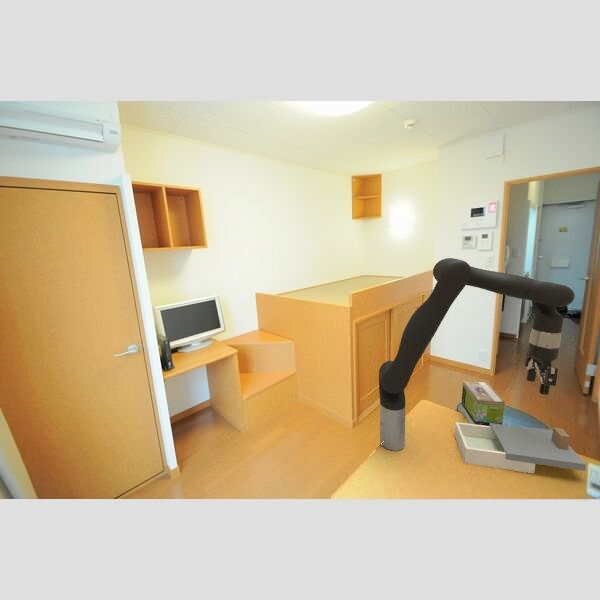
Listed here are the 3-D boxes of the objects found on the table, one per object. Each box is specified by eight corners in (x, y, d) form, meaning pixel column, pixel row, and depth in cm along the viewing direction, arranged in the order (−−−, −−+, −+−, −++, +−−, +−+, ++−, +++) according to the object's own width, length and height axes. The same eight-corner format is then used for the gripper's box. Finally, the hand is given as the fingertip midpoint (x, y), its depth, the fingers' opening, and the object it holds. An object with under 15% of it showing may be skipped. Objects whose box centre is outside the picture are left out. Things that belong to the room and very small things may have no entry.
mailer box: (464, 463, 93) (466, 448, 92) (454, 435, 106) (455, 422, 105) (534, 473, 87) (536, 458, 86) (514, 443, 100) (515, 429, 99)
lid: (506, 459, 88) (508, 440, 87) (488, 428, 103) (490, 411, 101) (585, 471, 82) (588, 450, 81) (554, 436, 96) (557, 418, 95)
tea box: (502, 434, 105) (506, 401, 102) (474, 432, 107) (476, 400, 104) (484, 411, 119) (487, 381, 116) (460, 409, 121) (462, 380, 118)
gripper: (520, 334, 96) (514, 375, 99) (541, 350, 82) (534, 397, 86) (546, 336, 93) (539, 378, 97) (572, 352, 80) (563, 400, 84)
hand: (536, 387), depth 91 cm, fingers open, 8 cm apart
